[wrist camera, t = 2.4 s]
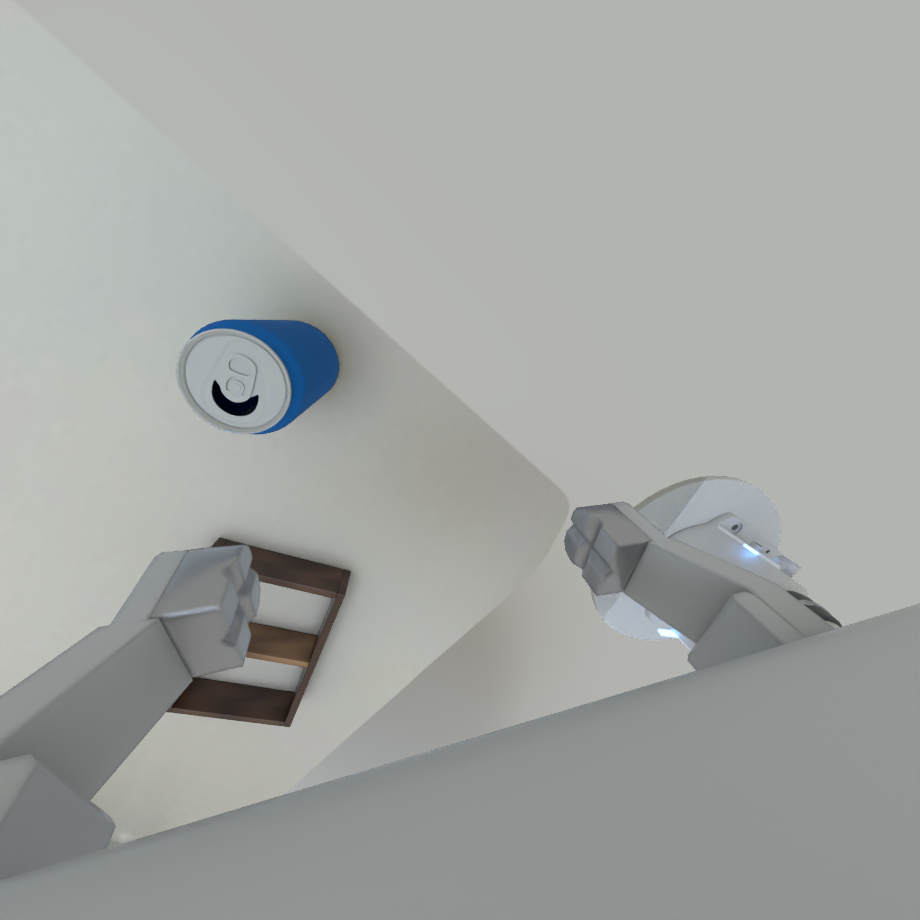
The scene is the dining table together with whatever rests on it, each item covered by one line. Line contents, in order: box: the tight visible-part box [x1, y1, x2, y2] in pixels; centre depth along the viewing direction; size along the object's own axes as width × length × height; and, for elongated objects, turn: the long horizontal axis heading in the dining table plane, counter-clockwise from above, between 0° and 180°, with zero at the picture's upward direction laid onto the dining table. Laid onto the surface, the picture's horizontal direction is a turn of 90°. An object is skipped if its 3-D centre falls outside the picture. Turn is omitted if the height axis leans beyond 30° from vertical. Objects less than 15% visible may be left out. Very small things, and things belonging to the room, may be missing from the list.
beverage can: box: [176, 320, 339, 434], centre depth 24 cm, size 6×6×12 cm
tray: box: [166, 538, 351, 727], centre depth 38 cm, size 14×22×4 cm, turn 155°
